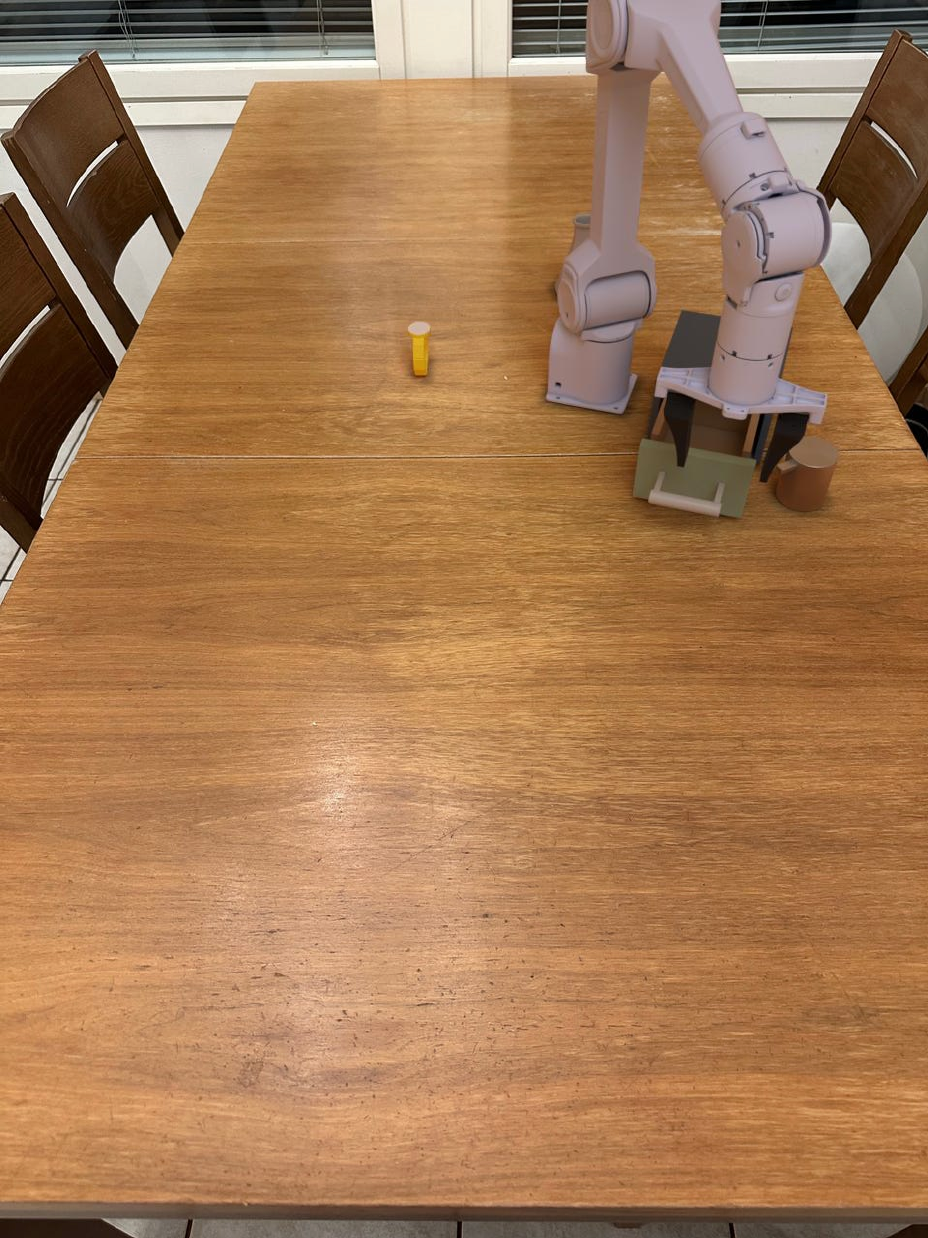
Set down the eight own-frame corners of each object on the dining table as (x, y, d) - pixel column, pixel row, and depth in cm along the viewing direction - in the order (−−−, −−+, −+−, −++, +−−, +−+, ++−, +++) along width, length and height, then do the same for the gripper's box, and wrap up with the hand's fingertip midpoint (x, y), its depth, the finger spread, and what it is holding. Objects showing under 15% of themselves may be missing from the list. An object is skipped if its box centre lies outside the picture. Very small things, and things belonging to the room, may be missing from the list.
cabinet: (759, 465, 104) (776, 400, 98) (646, 444, 107) (655, 379, 101) (776, 390, 113) (793, 326, 107) (671, 373, 116) (681, 309, 110)
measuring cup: (803, 475, 103) (817, 430, 98) (834, 502, 100) (849, 457, 95) (752, 494, 101) (764, 449, 97) (782, 522, 98) (796, 477, 93)
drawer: (734, 547, 94) (748, 496, 89) (622, 524, 97) (629, 472, 92) (759, 440, 106) (772, 389, 100) (658, 421, 108) (666, 370, 103)
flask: (603, 306, 127) (610, 234, 119) (550, 301, 128) (553, 230, 120) (609, 278, 131) (616, 207, 124) (557, 274, 132) (561, 204, 125)
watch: (412, 355, 120) (409, 313, 116) (434, 355, 120) (432, 313, 115) (409, 383, 116) (405, 340, 112) (431, 383, 116) (428, 340, 112)
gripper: (656, 353, 79) (638, 479, 89) (837, 382, 75) (796, 510, 85) (672, 310, 83) (653, 435, 93) (843, 335, 79) (804, 462, 90)
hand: (722, 468), depth 90 cm, fingers open, 7 cm apart
